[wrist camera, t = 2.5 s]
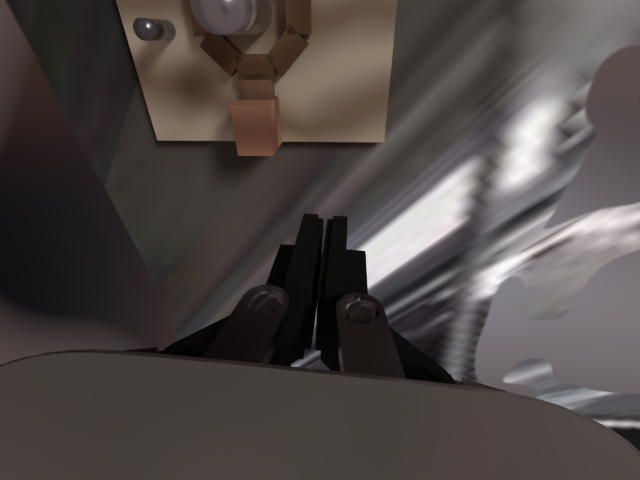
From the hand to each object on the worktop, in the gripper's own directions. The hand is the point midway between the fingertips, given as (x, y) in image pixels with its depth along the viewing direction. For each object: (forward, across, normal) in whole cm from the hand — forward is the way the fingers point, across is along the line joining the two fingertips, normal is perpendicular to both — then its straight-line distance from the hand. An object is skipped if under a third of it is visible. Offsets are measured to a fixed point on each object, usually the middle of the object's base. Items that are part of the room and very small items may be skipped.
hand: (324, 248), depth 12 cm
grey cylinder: (+19, +11, -8) cm, 24 cm away
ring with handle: (+19, +7, -6) cm, 21 cm away
